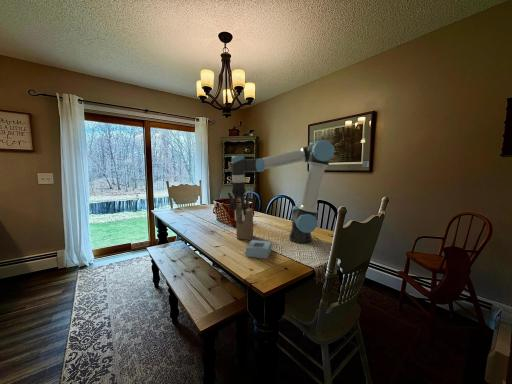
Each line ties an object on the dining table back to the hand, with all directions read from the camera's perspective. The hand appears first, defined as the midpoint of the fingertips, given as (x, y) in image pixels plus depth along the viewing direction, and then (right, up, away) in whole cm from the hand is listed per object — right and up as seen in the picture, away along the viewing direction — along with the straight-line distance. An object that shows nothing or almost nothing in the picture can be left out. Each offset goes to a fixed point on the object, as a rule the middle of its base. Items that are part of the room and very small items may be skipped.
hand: (239, 220), depth 126 cm
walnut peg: (0, -2, 0) cm, 2 cm away
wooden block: (+2, -15, +19) cm, 24 cm away
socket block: (+12, -18, -7) cm, 23 cm away
